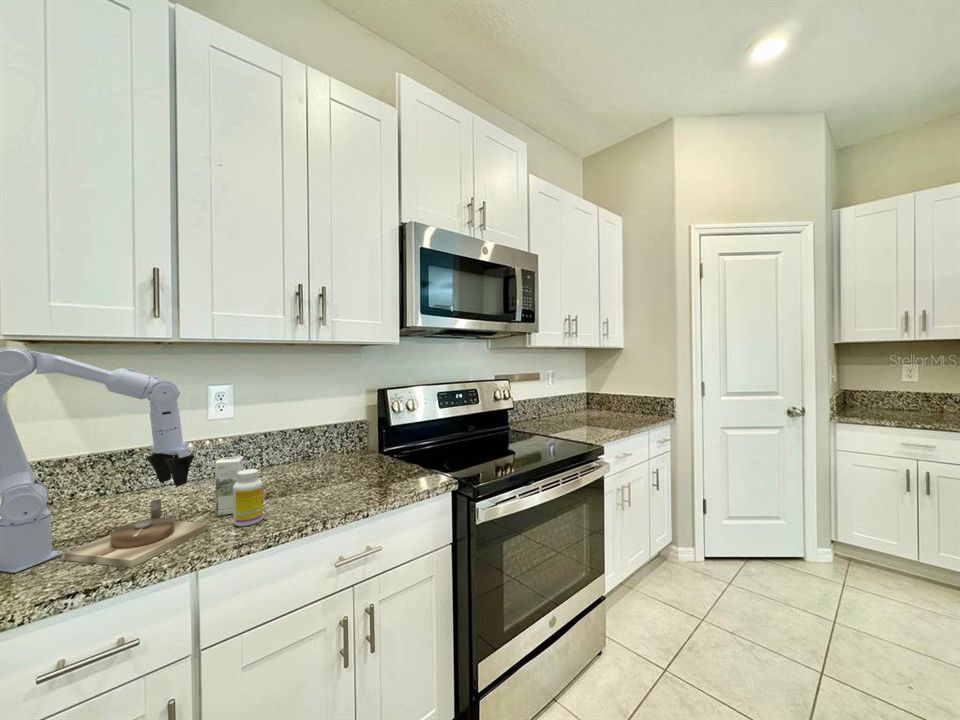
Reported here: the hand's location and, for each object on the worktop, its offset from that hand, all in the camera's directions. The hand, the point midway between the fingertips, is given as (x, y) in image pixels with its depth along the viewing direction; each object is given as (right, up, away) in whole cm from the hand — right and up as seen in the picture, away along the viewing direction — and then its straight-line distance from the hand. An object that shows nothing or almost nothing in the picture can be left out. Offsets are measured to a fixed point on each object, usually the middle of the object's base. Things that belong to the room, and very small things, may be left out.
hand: (172, 482), depth 100 cm
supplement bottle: (+17, -11, +3) cm, 21 cm away
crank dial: (0, -9, -8) cm, 12 cm away
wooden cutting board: (0, -11, -9) cm, 14 cm away
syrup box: (+8, -11, +9) cm, 17 cm away
